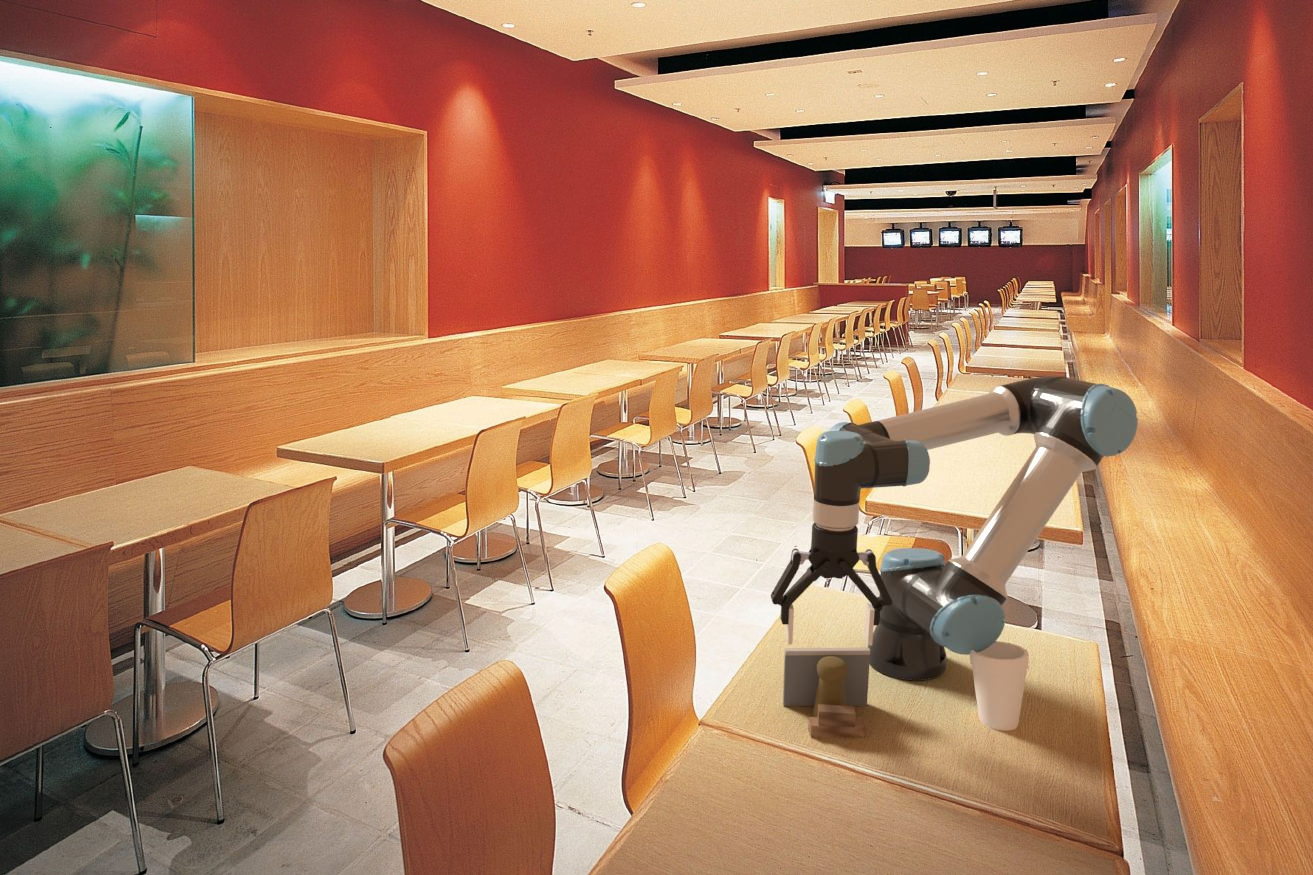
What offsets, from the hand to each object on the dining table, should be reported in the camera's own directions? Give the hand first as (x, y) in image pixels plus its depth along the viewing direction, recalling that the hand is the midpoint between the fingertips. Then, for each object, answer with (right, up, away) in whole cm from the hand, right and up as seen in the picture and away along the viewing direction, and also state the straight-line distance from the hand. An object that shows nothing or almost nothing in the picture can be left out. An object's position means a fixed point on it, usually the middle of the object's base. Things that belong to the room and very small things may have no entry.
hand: (828, 641), depth 149 cm
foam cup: (+30, -15, +2) cm, 33 cm away
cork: (+1, -14, +3) cm, 14 cm away
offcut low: (+1, -15, -2) cm, 15 cm away
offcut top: (+1, -13, -3) cm, 13 cm away
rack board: (+1, -13, +7) cm, 15 cm away
